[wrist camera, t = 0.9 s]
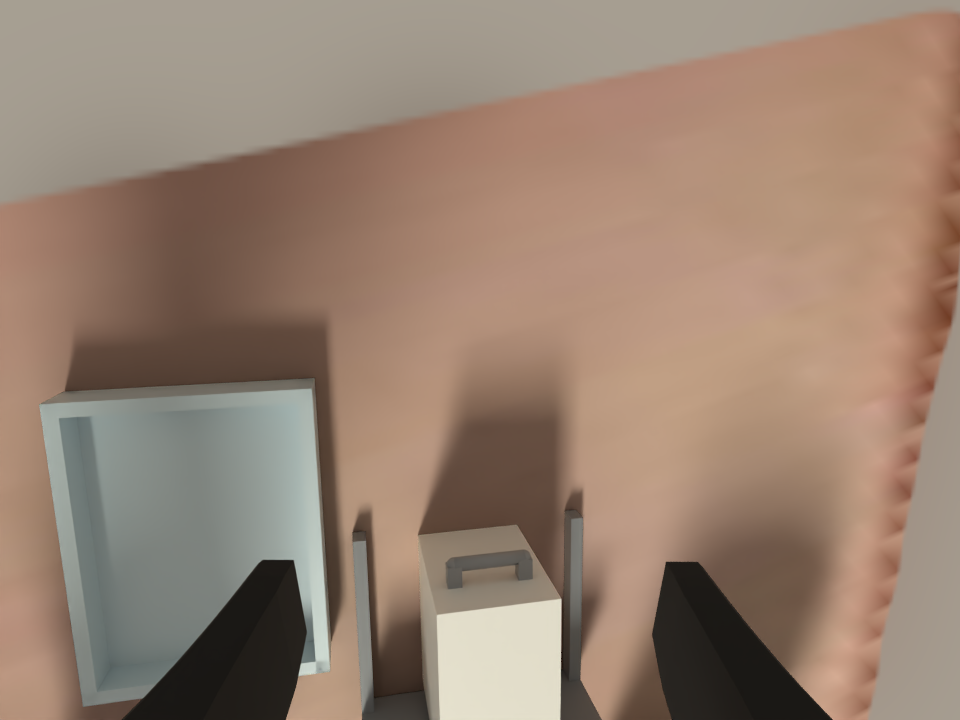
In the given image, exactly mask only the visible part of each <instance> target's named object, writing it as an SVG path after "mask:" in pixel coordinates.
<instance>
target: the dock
mask: <svg viewBox="0 0 960 720" xmlns="http://www.w3.org/2000/svg"><path fill="white" fill-rule="evenodd" d="M582 543H583V517H582V516H581V515H580V514H579V513H578V512H577V510H569V511H565V530H564V628H563V669H561V704H560V720H602V719H601V718H600V716H599V714H598V712H597V710H596V708H595V706H594V704H593V703H592V701H591V699H590V697H589V695H588V693H587V691H586V689H585V688H584V686H583V684H582V682H581V680H580V670H581V606H582ZM353 557H354V575H355V593H356V612H357V630H358V648H359V666H360V684H361V703H362V720H429V715H428V709H427V703H426V697H425V691H424V690H423V691H417V692H410V693H404V694H397V695H391V696H384V697H378V698H374V691H373V671H372V651H371V631H370V612H369V592H368V572H367V553H366V534H365V531H362V532H353Z"/></svg>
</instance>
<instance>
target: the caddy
mask: <svg viewBox="0 0 960 720" xmlns="http://www.w3.org/2000/svg"><path fill="white" fill-rule="evenodd" d="M418 557H419V585H420V614H421V643H422V672H423V685H424V691H425V697H426V703H427V709H428V715H429V720H560V704H561V597H560V595H559V594H558V592H557V590H556V589H555V587H554V585H553V584H552V582H551V580H550V579H549V577H548V576H547V574H546V572H545V571H544V569H543V567H542V566H541V564H540V562H539V561H538V559H537V557H536V556H535V554H534V552H533V551H532V549H531V547H530V546H529V544H528V542H527V541H526V539H525V537H524V536H523V534H522V532H521V531H520V529H519V527H518V526H517V525H509V526H499V527H490V528H480V529H471V530H461V531H452V532H442V533H432V534H423V535H418Z"/></svg>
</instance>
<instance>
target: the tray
mask: <svg viewBox="0 0 960 720" xmlns="http://www.w3.org/2000/svg"><path fill="white" fill-rule="evenodd" d="M39 406H40V413H41V420H42V427H43V434H44V441H45V448H46V455H47V461H48V468H49V475H50V482H51V489H52V496H53V503H54V510H55V517H56V524H57V530H58V537H59V544H60V551H61V558H62V565H63V572H64V579H65V586H66V593H67V599H68V606H69V613H70V620H71V627H72V634H73V641H74V648H75V655H76V662H77V668H78V675H79V682H80V689H81V696H82V703H83V707H86V706H93V705H100V704H107V703H114V702H121V701H128V700H135V699H142V698H144V697H145V696H146V695H147V693H148V692H149V691H150V690H151V689H152V688H153V687H154V686H155V685H156V684H157V683H158V682H159V681H160V679H161V678H162V677H163V676H164V675H165V674H166V673H167V672H168V671H169V670H170V669H171V668H172V667H173V666H174V664H175V663H176V662H177V661H178V660H179V659H180V658H181V657H182V656H183V654H184V653H185V652H186V651H187V650H188V649H189V647H190V646H191V645H192V644H193V643H194V642H195V640H196V639H197V638H198V637H199V636H200V635H201V633H202V632H203V631H204V630H205V629H206V628H207V626H208V625H209V624H210V623H211V622H212V621H213V619H214V618H215V617H216V616H217V614H218V613H219V612H220V611H221V610H222V608H223V607H224V606H225V605H226V603H227V602H228V601H229V600H230V599H231V597H232V596H233V595H234V594H235V592H236V591H237V590H238V588H239V587H240V586H241V585H242V583H243V582H244V581H245V580H246V578H247V577H248V576H249V574H250V573H251V572H252V571H253V569H254V568H255V567H256V566H257V564H258V563H259V562H261V561H262V560H294V563H295V569H296V574H297V580H298V585H299V591H300V596H301V602H302V607H303V613H304V618H305V624H306V629H307V635H306V641H305V646H304V651H303V656H302V661H301V666H300V670H299V675H298V676H303V675H310V674H317V673H324V672H330V661H331V630H330V615H329V599H328V583H327V567H326V551H325V536H324V520H323V504H322V488H321V472H320V457H319V441H318V425H317V409H316V394H315V378H305V379H286V380H268V381H250V382H231V383H213V384H195V385H176V386H158V387H140V388H121V389H103V390H84V391H66V392H62V393H60V394H58V395H56V396H54V397H52V398H51V399H49V400H47V401H45V402H43V403H41V404H39Z"/></svg>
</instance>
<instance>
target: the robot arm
mask: <svg viewBox="0 0 960 720" xmlns="http://www.w3.org/2000/svg"><path fill="white" fill-rule="evenodd" d="M306 635H307V629H306V624H305V618H304V613H303V607H302V602H301V596H300V591H299V585H298V580H297V574H296V569H295V563H294V560H262V561H261V562H259V563H258V564H257V566H256V567H255V568H254V569H253V571H252V572H251V573H250V574H249V576H248V577H247V578H246V580H245V581H244V582H243V583H242V585H241V586H240V587H239V588H238V590H237V591H236V592H235V594H234V595H233V596H232V597H231V599H230V600H229V601H228V602H227V603H226V605H225V606H224V607H223V608H222V610H221V611H220V612H219V613H218V614H217V616H216V617H215V618H214V619H213V621H212V622H211V623H210V624H209V625H208V626H207V628H206V629H205V630H204V631H203V632H202V633H201V635H200V636H199V637H198V638H197V639H196V640H195V642H194V643H193V644H192V645H191V646H190V647H189V649H188V650H187V651H186V652H185V653H184V654H183V656H182V657H181V658H180V659H179V660H178V661H177V662H176V663H175V664H174V666H173V667H172V668H171V669H170V670H169V671H168V672H167V673H166V674H165V675H164V676H163V677H162V678H161V679H160V681H159V682H158V683H157V684H156V685H155V686H154V687H153V688H152V689H151V690H150V691H149V692H148V693H147V695H146V696H145V697H144V698H143V699H142V700H141V701H140V702H139V703H138V704H137V705H136V706H135V707H134V708H133V709H132V710H131V711H130V712H129V713H128V714H127V715H126V716H125V717H124V718H123V719H122V720H286V717H287V714H288V711H289V707H290V704H291V701H292V698H293V695H294V692H295V688H296V684H297V680H298V675H299V670H300V666H301V661H302V656H303V651H304V646H305V641H306ZM652 636H653V641H654V647H655V652H656V658H657V663H658V668H659V673H660V678H661V683H662V688H663V691H664V695H665V698H666V701H667V705H668V708H669V711H670V714H671V718H672V720H832V719H831V718H830V716H829V715H828V714H827V713H826V712H825V711H824V710H823V709H822V708H821V707H820V706H819V705H818V704H817V703H816V702H815V701H814V700H813V699H812V698H811V697H810V695H809V694H808V693H807V692H806V691H805V690H804V689H803V688H802V687H801V686H800V685H799V684H798V683H797V681H796V680H795V679H794V678H793V677H792V676H791V675H790V674H789V672H788V671H787V670H786V669H785V668H784V667H783V666H782V665H781V663H780V662H779V661H778V660H777V659H776V658H775V656H774V655H773V654H772V653H771V652H770V651H769V649H768V648H767V647H766V646H765V645H764V644H763V642H762V641H761V640H760V639H759V638H758V637H757V635H756V634H755V633H754V632H753V630H752V629H751V628H750V627H749V626H748V624H747V623H746V622H745V621H744V619H743V618H742V617H741V616H740V614H739V613H738V612H737V611H736V609H735V608H734V607H733V606H732V604H731V603H730V602H729V601H728V599H727V598H726V597H725V596H724V594H723V593H722V592H721V590H720V589H719V588H718V586H717V585H716V584H715V583H714V581H713V580H712V579H711V577H710V576H709V575H708V573H707V572H706V571H705V570H704V568H703V567H702V566H701V565H700V564H699V563H698V562H666V565H665V570H664V575H663V581H662V586H661V591H660V596H659V601H658V607H657V612H656V617H655V622H654V627H653V633H652Z"/></svg>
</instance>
